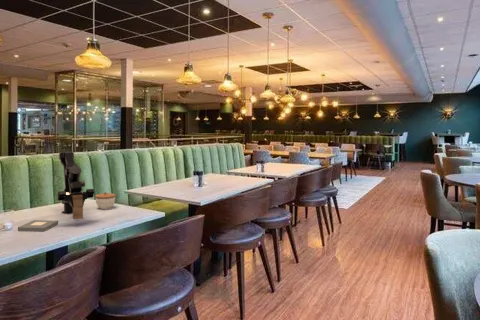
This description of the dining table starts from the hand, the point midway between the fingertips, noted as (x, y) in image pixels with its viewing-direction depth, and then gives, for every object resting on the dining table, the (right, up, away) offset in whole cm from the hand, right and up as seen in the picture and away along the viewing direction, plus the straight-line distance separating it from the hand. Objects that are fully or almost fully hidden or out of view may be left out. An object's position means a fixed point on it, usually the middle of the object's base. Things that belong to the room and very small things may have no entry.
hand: (78, 207), depth 195 cm
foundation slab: (-20, -11, -3) cm, 23 cm away
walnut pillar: (-1, -6, +2) cm, 7 cm away
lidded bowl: (-1, -7, +43) cm, 43 cm away
